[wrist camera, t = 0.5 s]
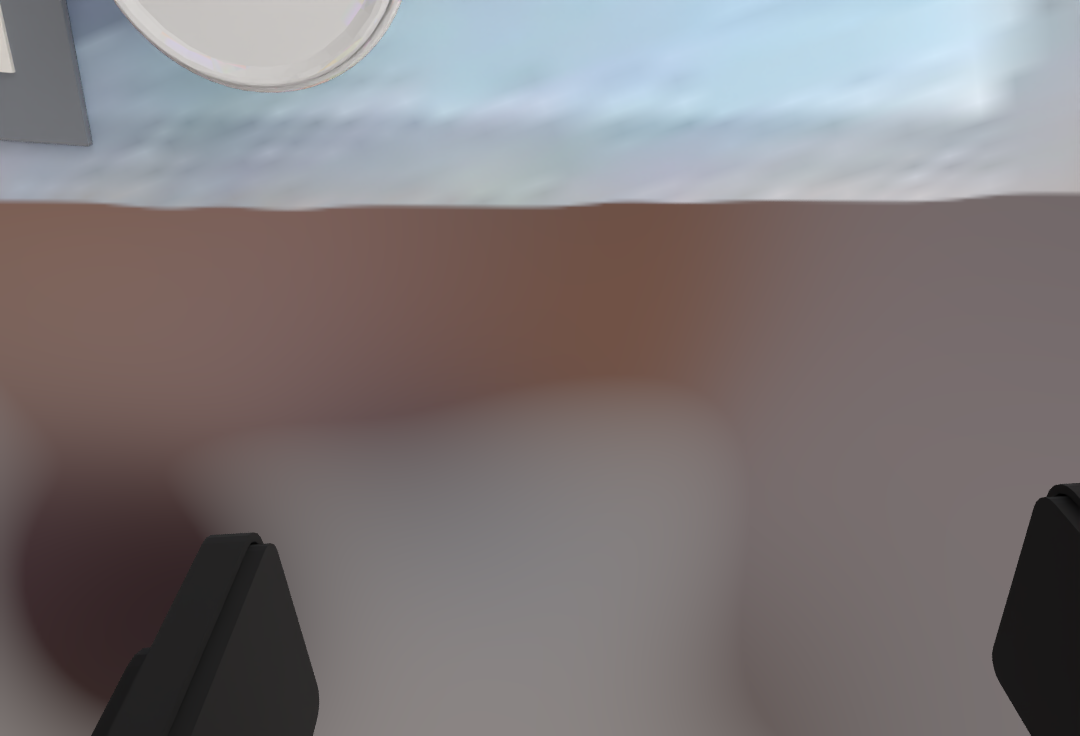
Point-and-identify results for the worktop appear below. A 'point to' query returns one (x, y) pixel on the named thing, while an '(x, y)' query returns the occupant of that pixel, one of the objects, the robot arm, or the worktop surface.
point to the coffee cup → (263, 37)
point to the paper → (5, 49)
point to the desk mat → (42, 77)
